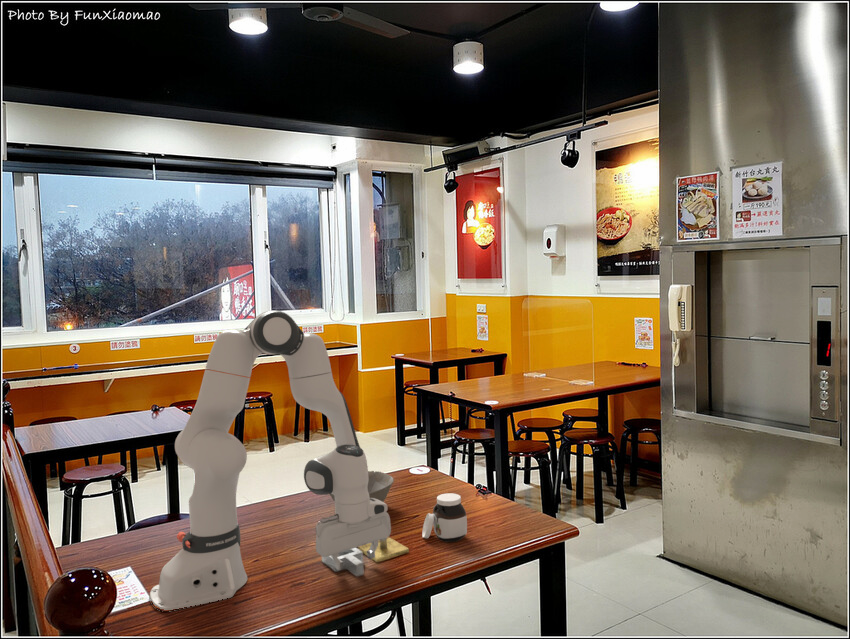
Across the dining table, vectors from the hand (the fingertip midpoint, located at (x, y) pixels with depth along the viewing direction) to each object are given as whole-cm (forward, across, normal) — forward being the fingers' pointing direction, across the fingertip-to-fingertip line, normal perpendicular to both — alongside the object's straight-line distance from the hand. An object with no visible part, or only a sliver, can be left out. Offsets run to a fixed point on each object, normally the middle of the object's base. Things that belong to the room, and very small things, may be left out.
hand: (355, 562), depth 161 cm
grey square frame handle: (+2, 0, +4) cm, 4 cm away
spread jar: (+3, +30, +2) cm, 30 cm away
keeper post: (+2, +12, +5) cm, 13 cm away
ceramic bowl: (+2, +22, +36) cm, 42 cm away
